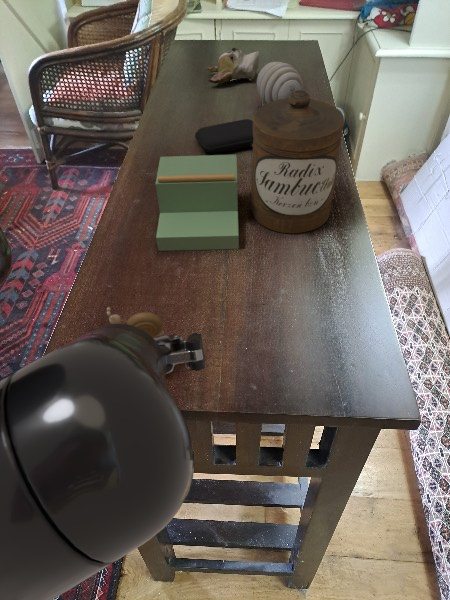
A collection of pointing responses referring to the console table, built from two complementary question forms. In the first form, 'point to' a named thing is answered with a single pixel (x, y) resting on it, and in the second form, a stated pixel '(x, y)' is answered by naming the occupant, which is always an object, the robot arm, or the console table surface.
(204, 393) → the console table surface
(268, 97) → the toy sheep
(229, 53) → the ceramic sculpture
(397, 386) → the console table surface
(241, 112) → the console table surface
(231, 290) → the console table surface
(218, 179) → the green step block
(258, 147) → the wooden container
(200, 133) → the carrying case
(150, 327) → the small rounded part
